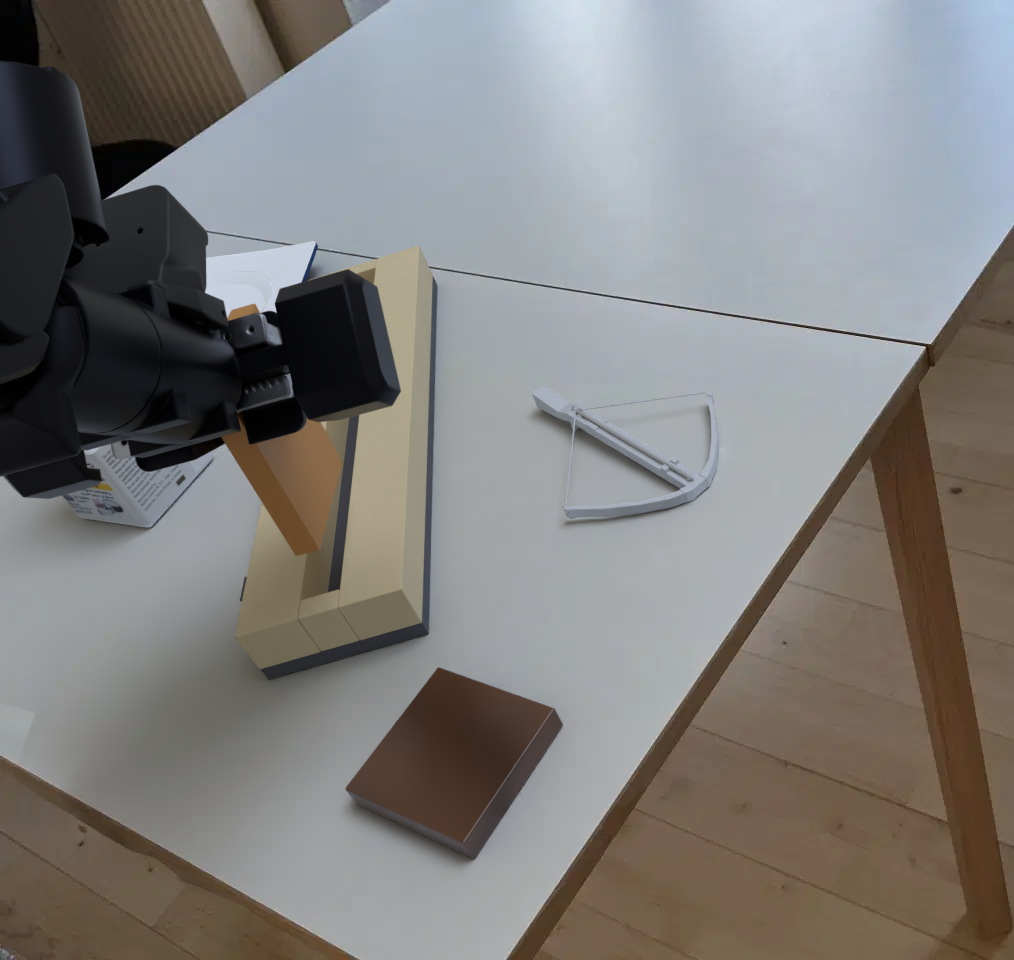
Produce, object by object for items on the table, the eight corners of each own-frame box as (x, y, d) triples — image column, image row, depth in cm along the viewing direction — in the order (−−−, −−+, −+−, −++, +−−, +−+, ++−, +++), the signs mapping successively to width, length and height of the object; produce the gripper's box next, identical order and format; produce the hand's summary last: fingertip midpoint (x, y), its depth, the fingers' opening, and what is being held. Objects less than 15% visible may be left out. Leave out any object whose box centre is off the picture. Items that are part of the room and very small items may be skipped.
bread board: (474, 860, 52) (463, 843, 51) (356, 804, 56) (343, 788, 55) (564, 724, 57) (554, 707, 56) (448, 682, 61) (438, 666, 60)
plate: (242, 400, 89) (225, 374, 87) (48, 415, 96) (29, 391, 94) (343, 258, 103) (330, 233, 101) (168, 280, 110) (153, 257, 108)
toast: (319, 550, 59) (218, 382, 52) (295, 557, 59) (191, 390, 52) (343, 462, 65) (255, 302, 59) (321, 467, 65) (230, 309, 59)
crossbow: (774, 441, 69) (769, 417, 68) (629, 566, 65) (621, 543, 63) (609, 354, 79) (602, 331, 78) (473, 457, 75) (463, 435, 73)
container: (79, 520, 82) (-35, 385, 74) (146, 450, 87) (46, 316, 79) (151, 530, 79) (40, 390, 71) (217, 456, 84) (120, 317, 75)
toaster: (429, 634, 64) (401, 589, 61) (255, 683, 65) (220, 641, 62) (437, 284, 94) (419, 245, 92) (319, 321, 95) (297, 283, 92)
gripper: (269, 105, 44) (405, 219, 59) (-147, 234, 46) (89, 311, 61) (330, 376, 43) (451, 420, 58) (-98, 494, 45) (129, 506, 60)
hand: (275, 408), depth 59 cm, fingers closed on toast, 1 cm apart
